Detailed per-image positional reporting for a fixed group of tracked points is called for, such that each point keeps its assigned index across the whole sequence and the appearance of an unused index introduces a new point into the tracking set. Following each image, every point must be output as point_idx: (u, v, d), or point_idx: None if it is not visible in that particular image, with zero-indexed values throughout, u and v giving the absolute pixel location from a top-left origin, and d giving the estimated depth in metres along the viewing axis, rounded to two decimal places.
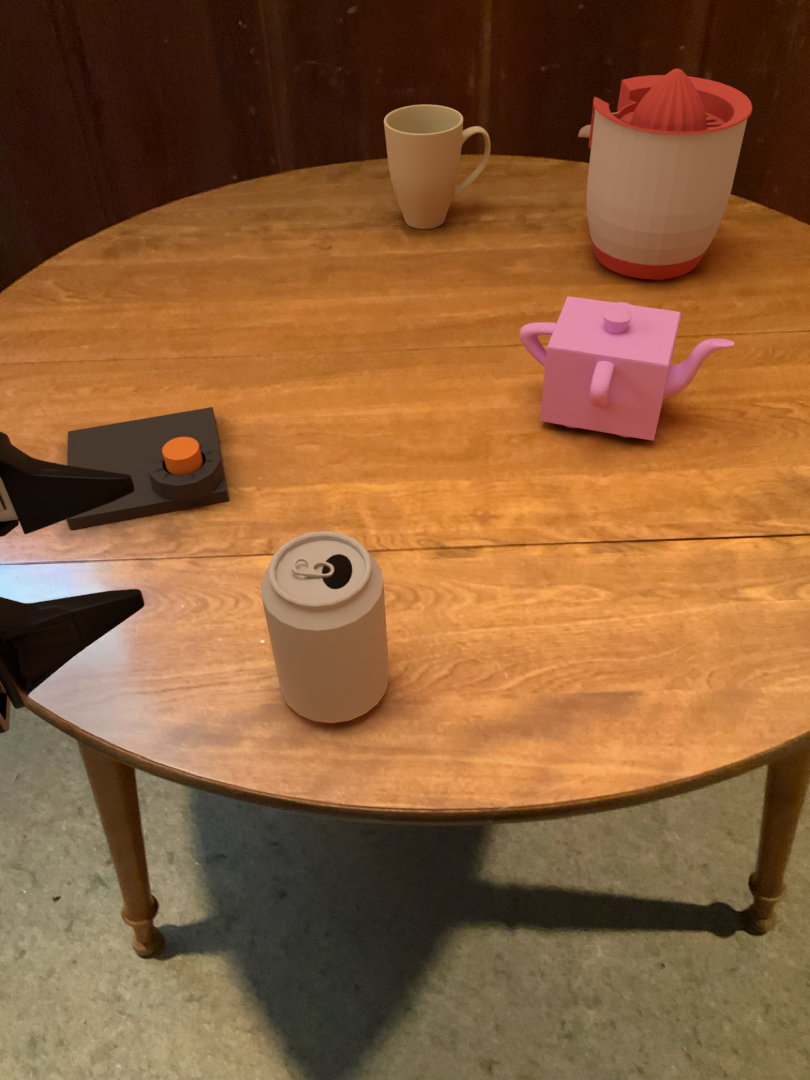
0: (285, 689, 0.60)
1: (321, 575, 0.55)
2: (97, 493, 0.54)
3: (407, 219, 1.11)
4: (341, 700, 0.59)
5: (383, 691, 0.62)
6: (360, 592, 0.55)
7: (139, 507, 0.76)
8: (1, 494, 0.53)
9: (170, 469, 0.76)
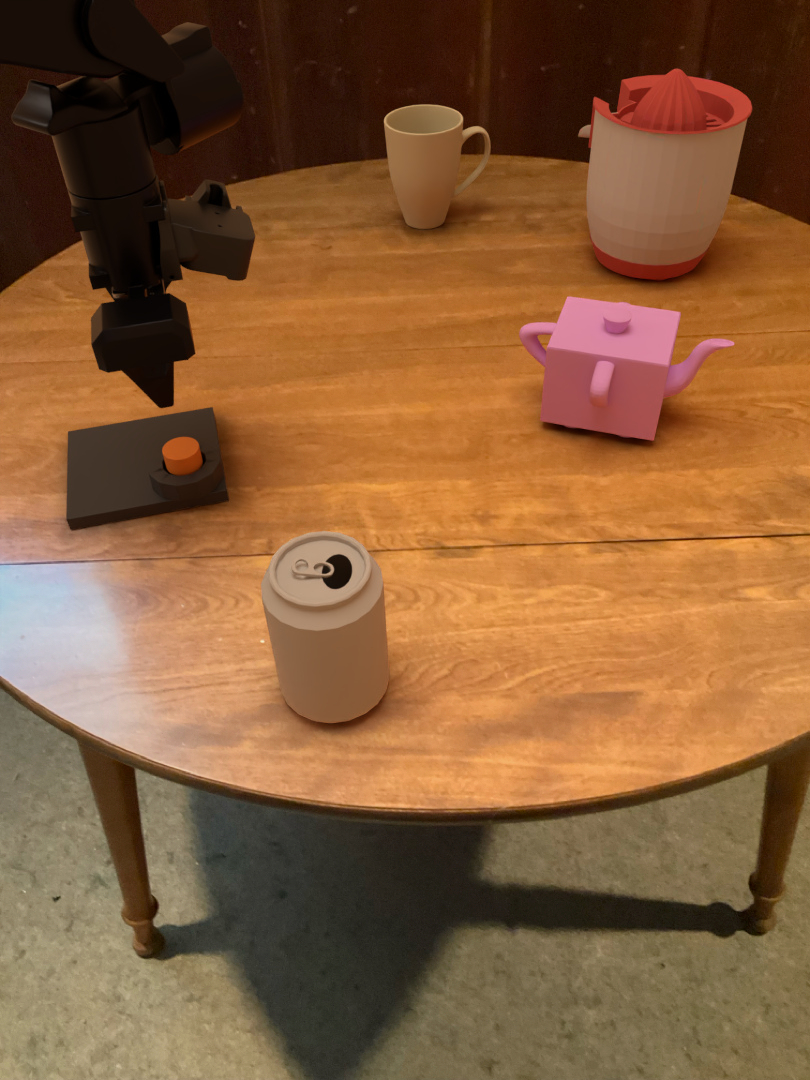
0: (285, 689, 0.60)
1: (321, 575, 0.55)
2: None
3: (407, 219, 1.11)
4: (341, 700, 0.59)
5: (383, 691, 0.62)
6: (360, 592, 0.55)
7: (139, 507, 0.76)
8: None
9: (170, 469, 0.76)
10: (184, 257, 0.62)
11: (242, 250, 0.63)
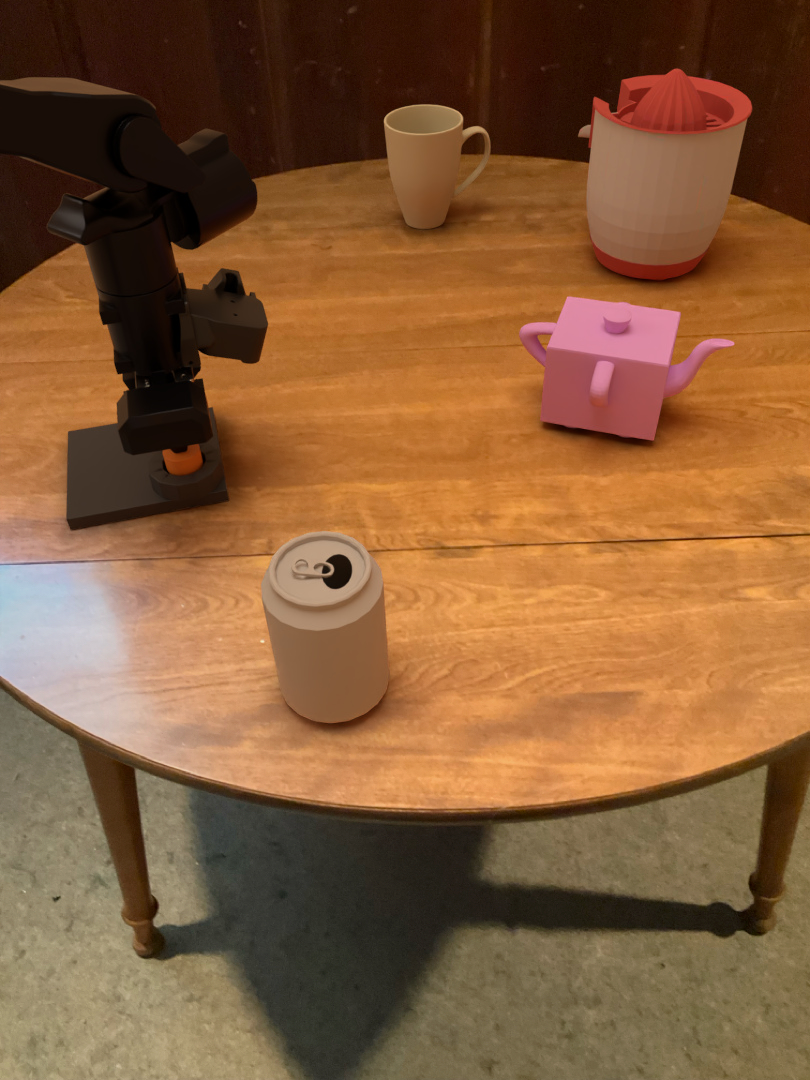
0: (285, 689, 0.60)
1: (321, 575, 0.55)
2: None
3: (407, 219, 1.11)
4: (341, 700, 0.59)
5: (383, 691, 0.62)
6: (360, 592, 0.55)
7: (139, 507, 0.76)
8: None
9: (170, 470, 0.76)
10: (202, 345, 0.67)
11: (256, 337, 0.68)
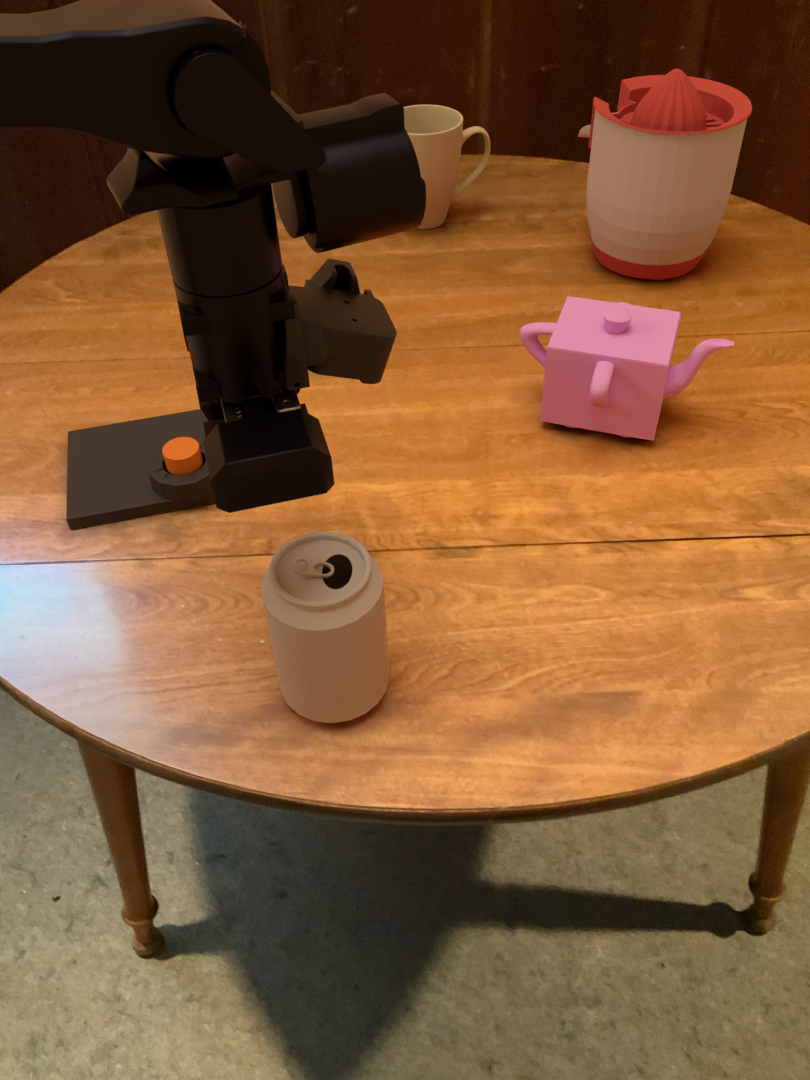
0: (285, 689, 0.60)
1: (321, 575, 0.55)
2: None
3: None
4: (341, 700, 0.59)
5: (383, 691, 0.62)
6: (360, 592, 0.55)
7: (139, 507, 0.76)
8: None
9: (170, 469, 0.76)
10: (314, 361, 0.50)
11: (382, 349, 0.51)
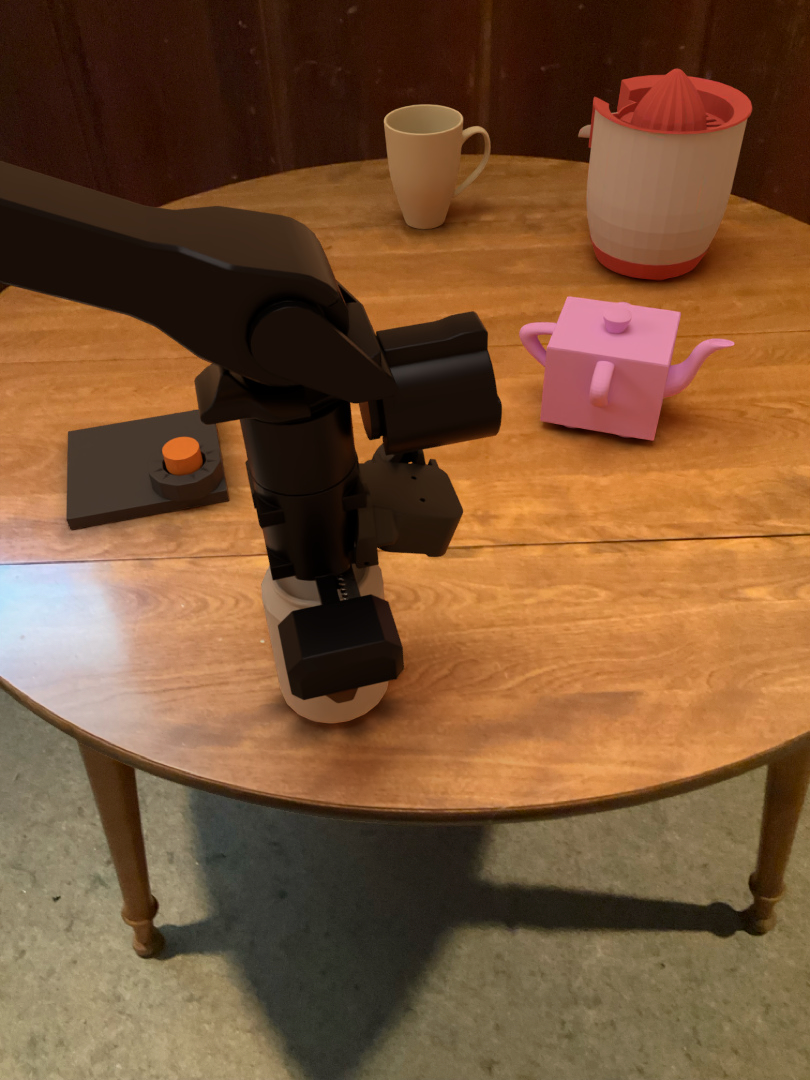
0: (285, 689, 0.60)
1: None
2: None
3: (407, 219, 1.11)
4: None
5: (383, 691, 0.62)
6: (360, 592, 0.55)
7: (139, 507, 0.76)
8: None
9: (170, 469, 0.76)
10: (383, 543, 0.51)
11: (449, 528, 0.52)
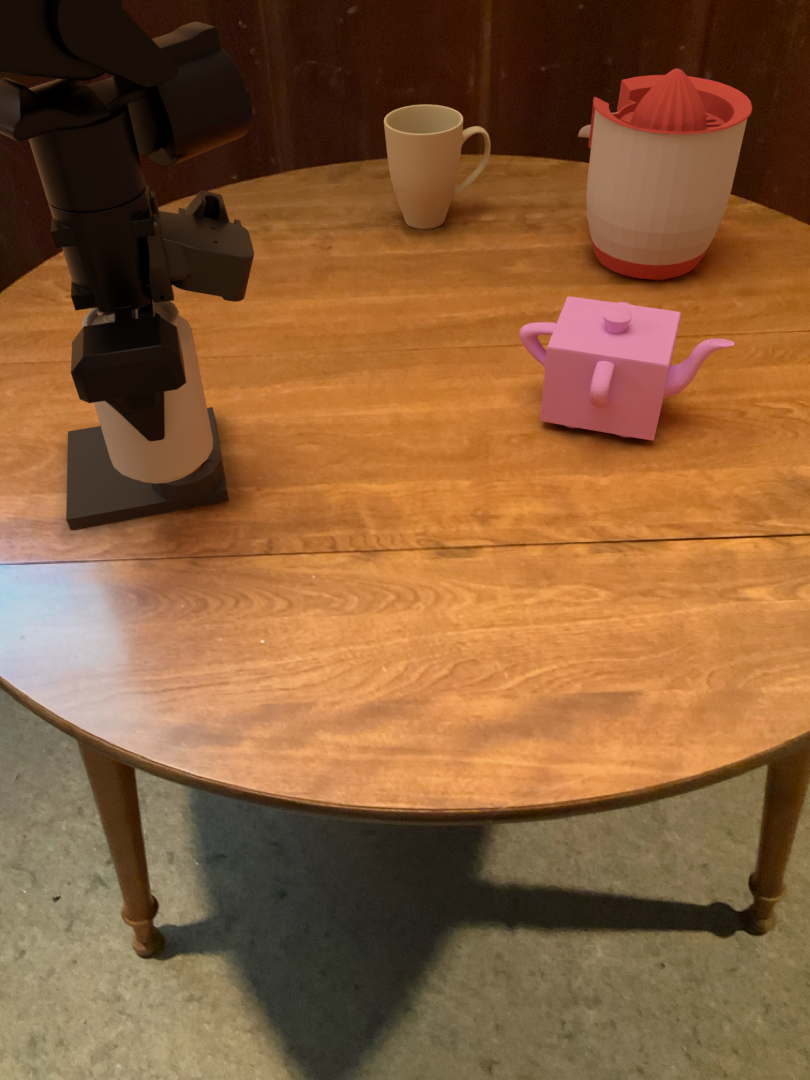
0: (109, 448, 0.65)
1: None
2: None
3: (407, 219, 1.11)
4: (157, 454, 0.64)
5: (203, 458, 0.67)
6: None
7: (139, 507, 0.76)
8: None
9: None
10: (176, 276, 0.56)
11: (239, 268, 0.57)
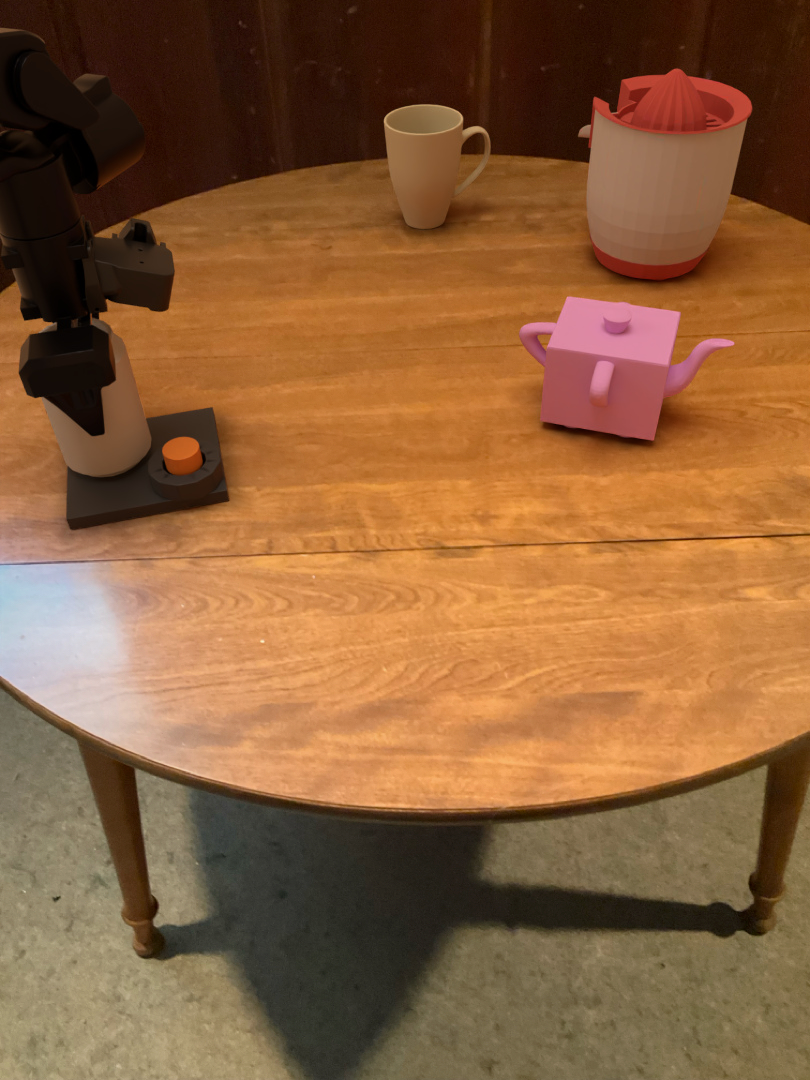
0: (60, 448, 0.77)
1: None
2: None
3: (407, 219, 1.11)
4: (100, 452, 0.76)
5: (141, 454, 0.78)
6: None
7: (139, 507, 0.76)
8: None
9: (170, 469, 0.76)
10: (108, 291, 0.67)
11: (162, 284, 0.69)
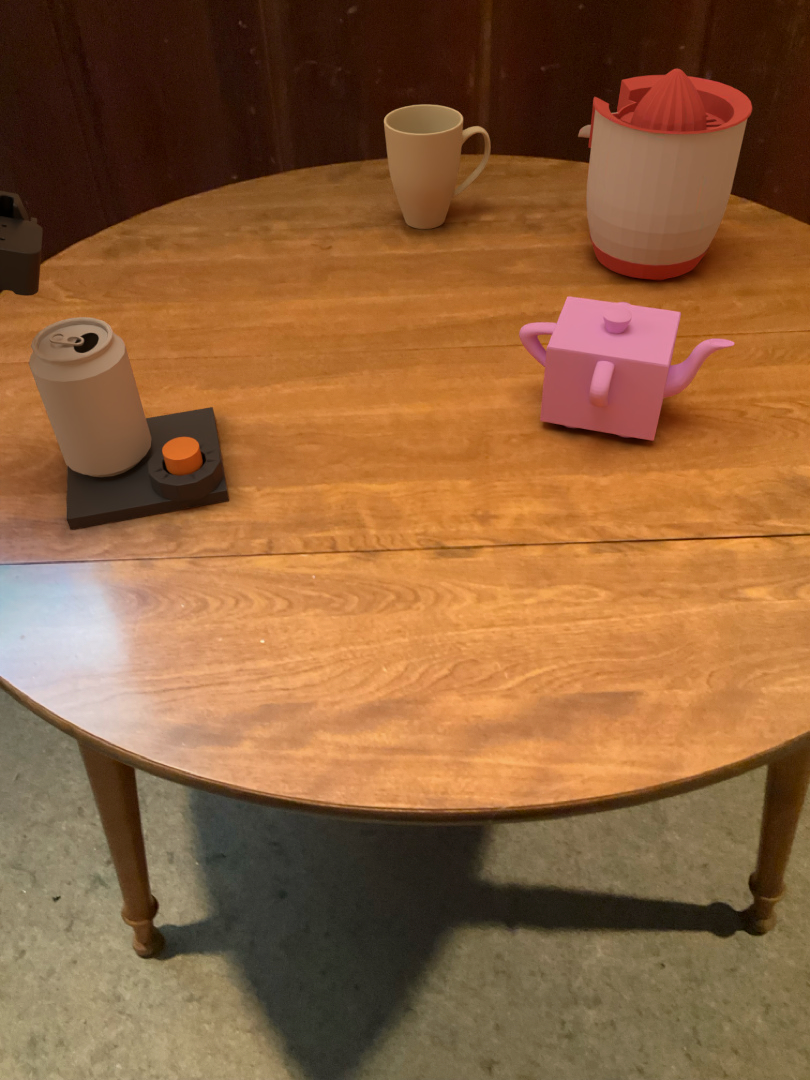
0: (60, 448, 0.77)
1: (72, 344, 0.72)
2: None
3: (407, 219, 1.11)
4: (100, 452, 0.76)
5: (141, 454, 0.78)
6: (100, 355, 0.71)
7: (139, 507, 0.76)
8: None
9: (170, 469, 0.76)
10: None
11: (26, 264, 0.61)
